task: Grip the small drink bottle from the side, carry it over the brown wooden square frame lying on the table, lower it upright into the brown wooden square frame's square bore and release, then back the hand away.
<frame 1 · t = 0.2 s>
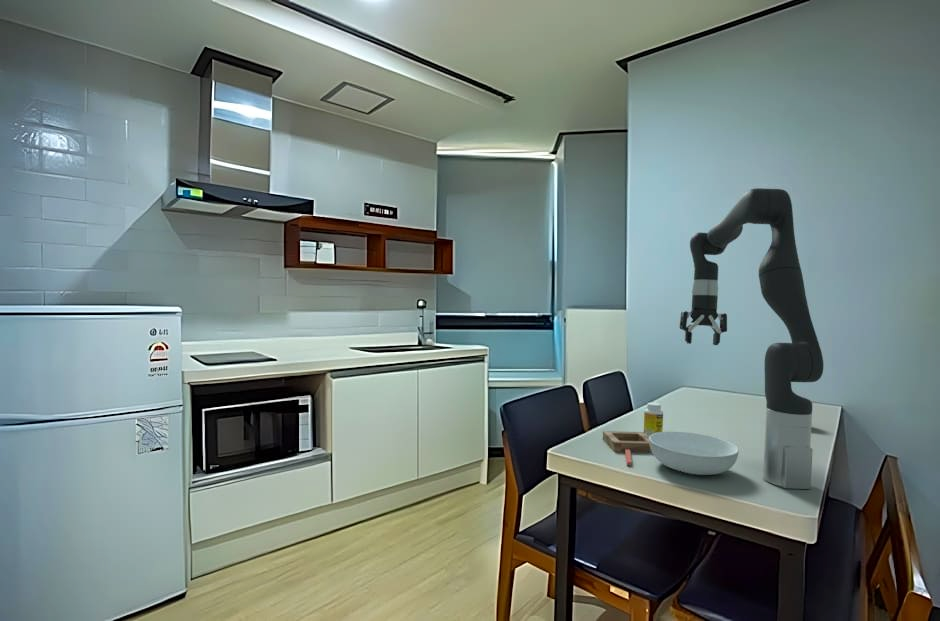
hand: (702, 344, 165), 29 cm above the table, tool pointing down, fingers open, 8 cm apart
brown wooden square frame: (628, 445, 149), on the table
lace: (628, 458, 136), on the table
supplement bottle: (652, 436, 160), on the table
serving bowl: (691, 469, 130), on the table
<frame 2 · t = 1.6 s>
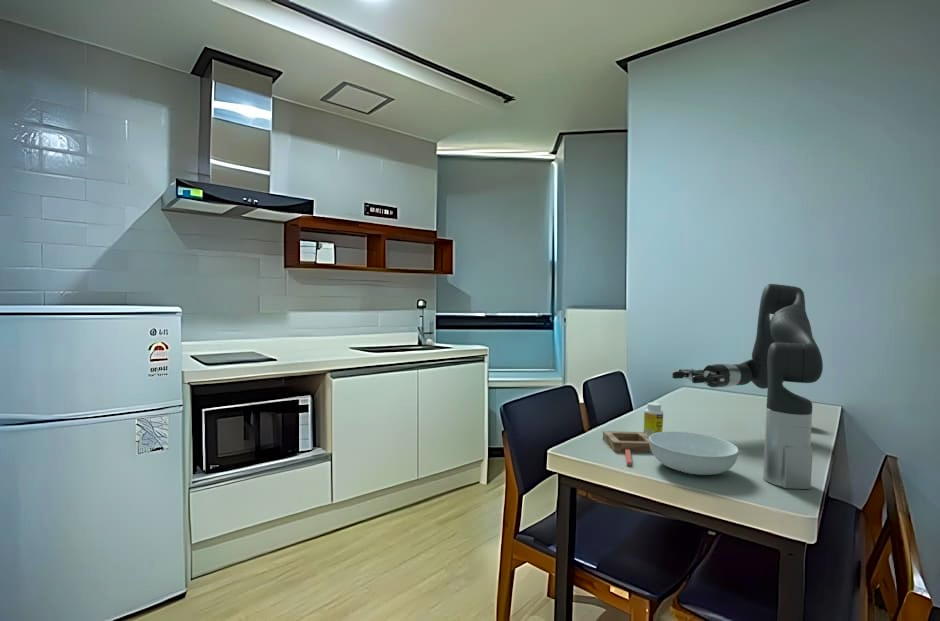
hand: (682, 377, 163), 18 cm above the table, tool horizontal, fingers open, 8 cm apart
nothing on the table moved.
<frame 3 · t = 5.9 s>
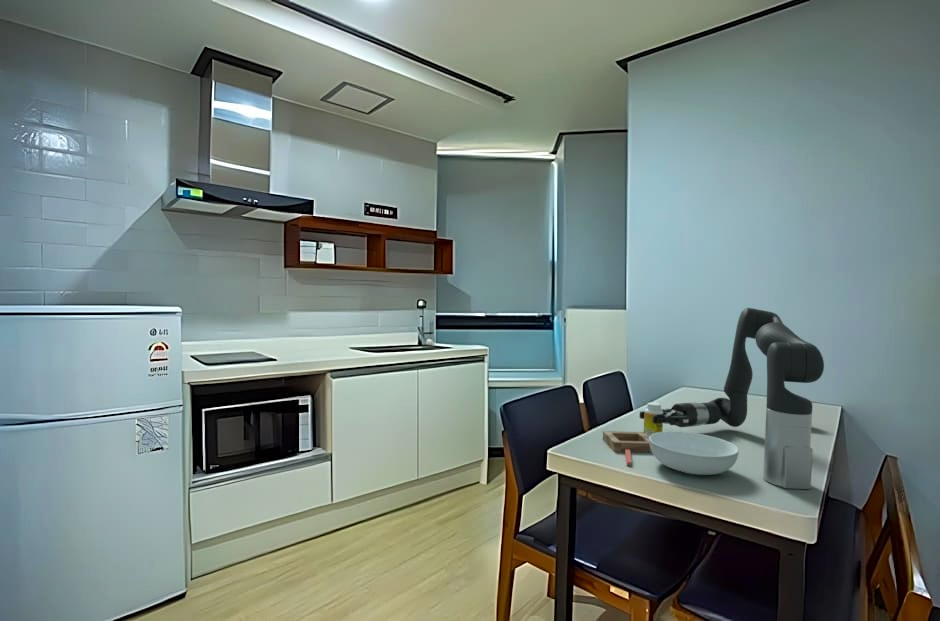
hand: (647, 417, 159), 6 cm above the table, tool horizontal, fingers closed on supplement bottle, 5 cm apart
supplement bottle: (652, 436, 160), on the table, touching gripper
everything else where it was.
when the fingers open (7 cm above the table, at t = 11.6 s): supplement bottle drops 1 cm, resting in brown wooden square frame.
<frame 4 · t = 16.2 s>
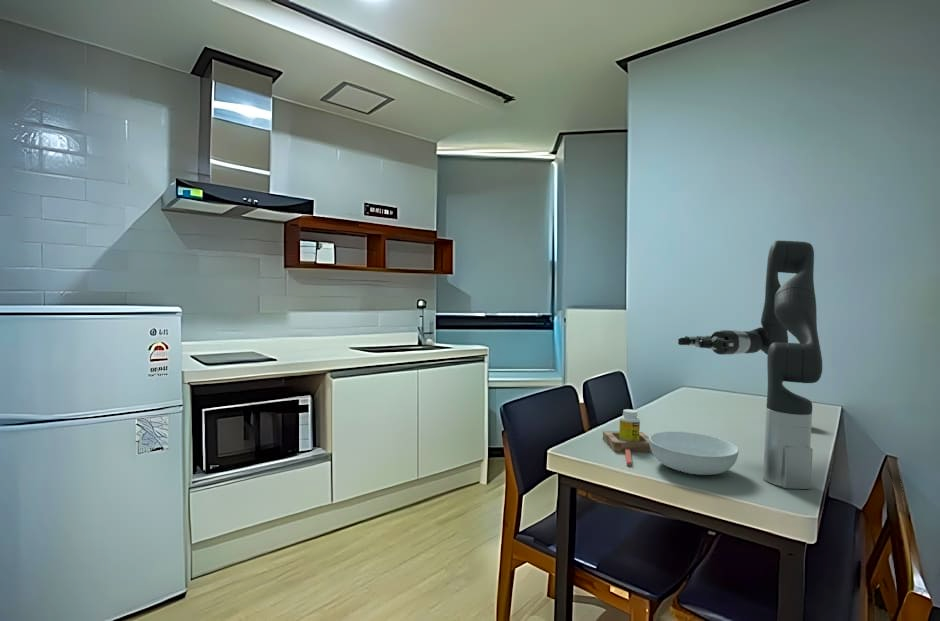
hand: (689, 342, 154), 30 cm above the table, tool horizontal, fingers open, 8 cm apart
supplement bottle: (628, 446, 149), resting in brown wooden square frame
everything else where it was.
at the end: supplement bottle 0.1 cm off-centre on the brown wooden square frame, point 0.0 cm above the brown wooden square frame's base; supplement bottle tilted 0°; the gripper is holding nothing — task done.
